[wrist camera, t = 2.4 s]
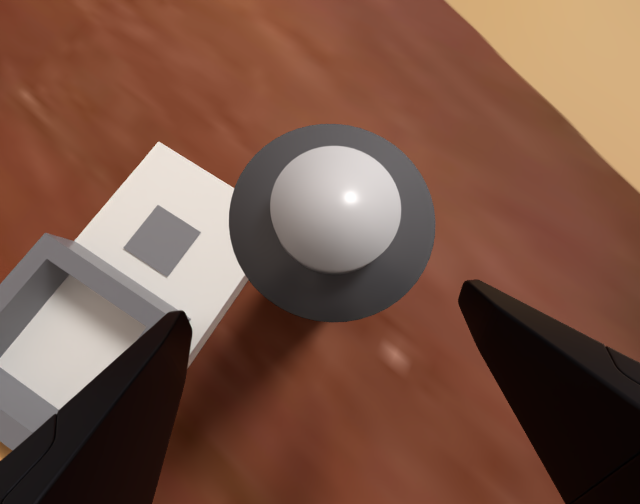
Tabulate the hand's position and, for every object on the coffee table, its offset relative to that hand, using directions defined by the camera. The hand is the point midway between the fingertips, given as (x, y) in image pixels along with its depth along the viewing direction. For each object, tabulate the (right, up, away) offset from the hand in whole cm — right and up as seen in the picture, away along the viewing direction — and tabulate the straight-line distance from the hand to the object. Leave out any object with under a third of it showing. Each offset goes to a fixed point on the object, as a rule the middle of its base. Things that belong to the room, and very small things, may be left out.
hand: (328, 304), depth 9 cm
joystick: (0, 0, +9) cm, 9 cm away
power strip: (-12, -2, +8) cm, 15 cm away
